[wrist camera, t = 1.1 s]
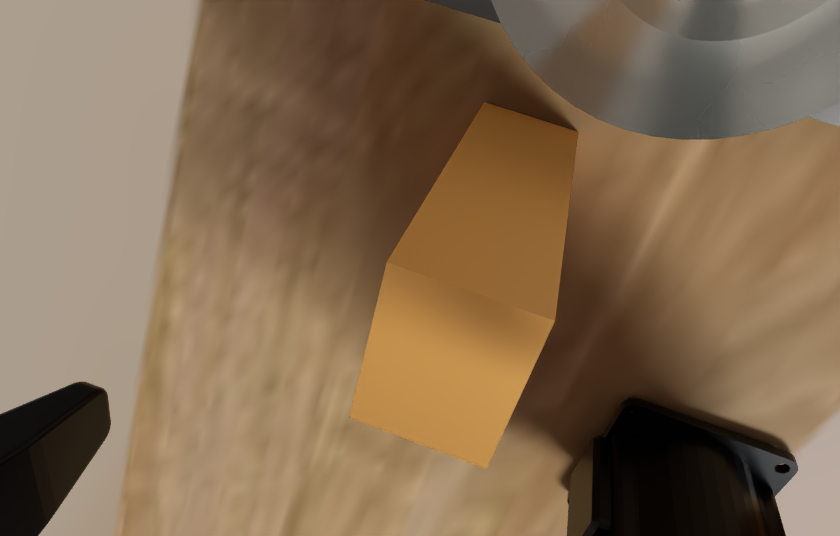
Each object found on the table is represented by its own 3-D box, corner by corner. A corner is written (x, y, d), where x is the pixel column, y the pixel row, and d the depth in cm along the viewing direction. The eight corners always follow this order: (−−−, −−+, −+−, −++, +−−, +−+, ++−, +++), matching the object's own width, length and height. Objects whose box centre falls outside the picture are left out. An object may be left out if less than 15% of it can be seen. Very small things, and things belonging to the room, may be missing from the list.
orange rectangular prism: (578, 131, 18) (555, 321, 10) (534, 240, 21) (486, 469, 12) (484, 102, 19) (386, 262, 10) (451, 212, 21) (349, 417, 13)
